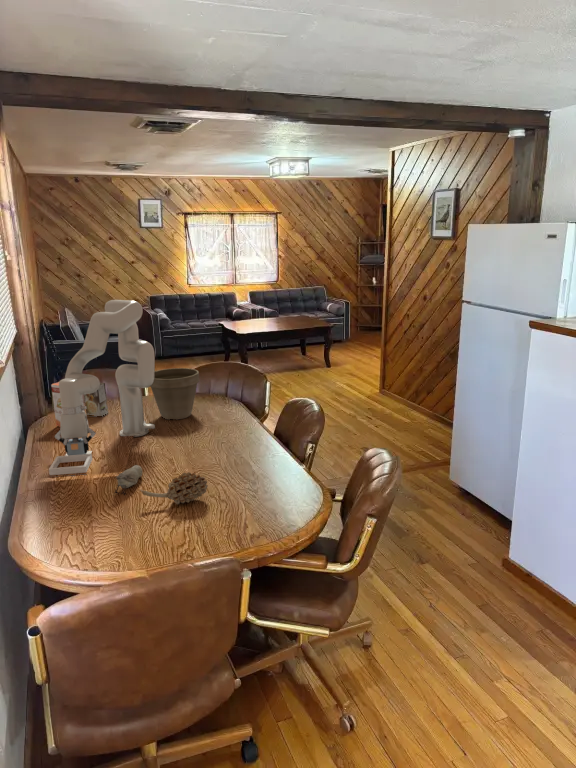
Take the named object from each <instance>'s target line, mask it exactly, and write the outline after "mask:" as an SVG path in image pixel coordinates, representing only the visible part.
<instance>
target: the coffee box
mask: <svg viewBox="0 0 576 768" xmlns="http://www.w3.org/2000/svg"><path fill="white" fill-rule="evenodd" d="M106 389H107V388H106V383H105V382H100V386H99V388H98V390H97V391H95V392H94V393H90V394H83V400H84V406H86V409H85V413H86V416H87V415H94V416H93V417H97V416H102V417H104V416H106V415H108V414H109V408H108V399H107V398H108V397H107V391H106ZM107 413H108V414H107ZM105 414H106V415H105ZM103 415H104V416H103Z"/></svg>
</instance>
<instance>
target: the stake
mask: <svg viewBox="0 0 576 768" xmlns="http://www.w3.org/2000/svg"><path fill="white" fill-rule="evenodd" d="M72 439H73V443H77V442H79V438H72ZM92 452H93V450H88V451H87V453H86V454H93V453H92ZM64 456H68V455H67V452H65V455H64Z"/></svg>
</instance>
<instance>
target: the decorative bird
mask: <svg viewBox="0 0 576 768" xmlns="http://www.w3.org/2000/svg"><path fill="white" fill-rule="evenodd" d="M142 476H143V468H142V467H141V466H140V465H138V464H135V465H133V466H132V467H130V468H128V469H125V470H123V472H120V473H119V475H118V474H117V475H116V476H115V477H114V478H116V480H117V488H114V492H113V494H116V495H120V492H118V490H119V487H121V488H122V489H123V490H122V493H121V495H123V494H124V496H125V495H126V496H127V495H128V494H127V492H126V489H128V488H130V487H133V485H136V484H137V483H138V480H139V479H141V478H142Z"/></svg>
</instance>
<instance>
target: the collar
mask: <svg viewBox="0 0 576 768" xmlns="http://www.w3.org/2000/svg"><path fill="white" fill-rule="evenodd" d="M67 451H68V455H82V454H86V453H85V452H84V441H83V439H82V438H79V442H77V443H73V438H69V440H68V443H67Z"/></svg>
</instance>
